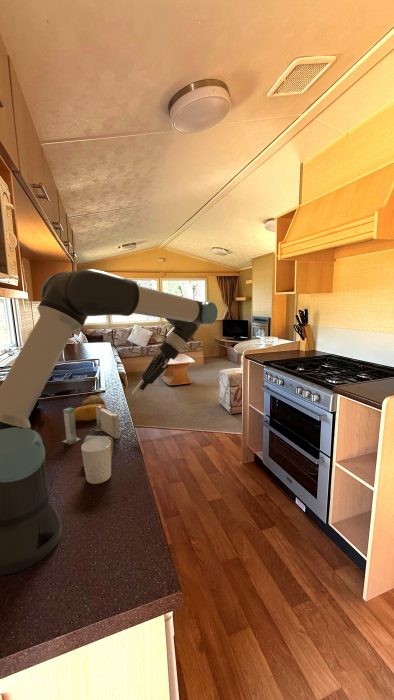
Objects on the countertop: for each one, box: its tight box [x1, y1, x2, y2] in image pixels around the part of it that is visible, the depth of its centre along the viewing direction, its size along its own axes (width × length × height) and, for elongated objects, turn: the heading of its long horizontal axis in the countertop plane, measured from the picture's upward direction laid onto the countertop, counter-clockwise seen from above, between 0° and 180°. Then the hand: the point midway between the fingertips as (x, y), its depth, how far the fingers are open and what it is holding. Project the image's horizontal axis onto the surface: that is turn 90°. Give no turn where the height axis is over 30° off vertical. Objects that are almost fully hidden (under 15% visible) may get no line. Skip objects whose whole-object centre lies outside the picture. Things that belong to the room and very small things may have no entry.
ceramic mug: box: [82, 435, 114, 457], centre depth 96 cm, size 11×8×8 cm
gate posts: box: [62, 405, 104, 445], centre depth 112 cm, size 18×5×12 cm, turn 144°
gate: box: [100, 408, 121, 440], centre depth 111 cm, size 12×2×9 cm, turn 43°
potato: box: [74, 404, 108, 422], centre depth 126 cm, size 8×14×7 cm, turn 108°
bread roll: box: [80, 395, 106, 407], centre depth 139 cm, size 10×10×8 cm
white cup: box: [80, 438, 112, 485], centre depth 85 cm, size 8×8×10 cm
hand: (134, 395), depth 114 cm, fingers closed
